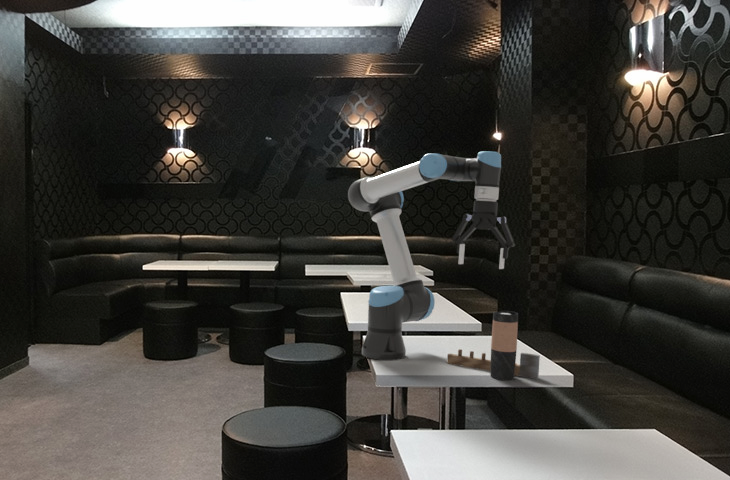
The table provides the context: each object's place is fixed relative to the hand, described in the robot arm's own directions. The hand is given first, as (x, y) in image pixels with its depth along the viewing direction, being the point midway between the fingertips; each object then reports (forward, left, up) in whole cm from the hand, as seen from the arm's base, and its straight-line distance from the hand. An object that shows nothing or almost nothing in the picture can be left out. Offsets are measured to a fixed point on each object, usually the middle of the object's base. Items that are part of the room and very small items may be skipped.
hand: (480, 266), depth 194 cm
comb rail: (+5, 0, -33) cm, 33 cm away
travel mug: (+11, -6, -33) cm, 35 cm away
